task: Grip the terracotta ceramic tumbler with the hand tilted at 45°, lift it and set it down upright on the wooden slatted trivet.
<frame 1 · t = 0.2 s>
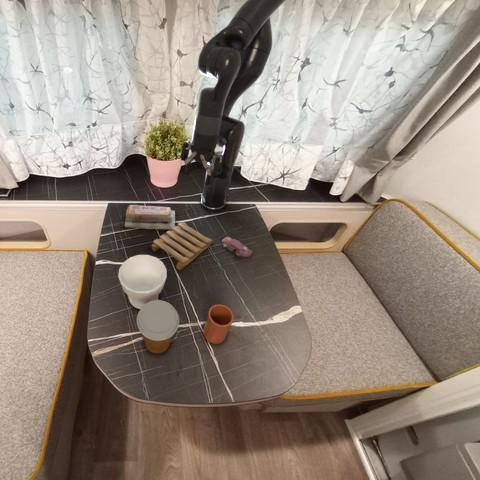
hand: (197, 179, 89), 17 cm above the table, tool pointing down, fingers open, 8 cm apart
wooden slatted trivet: (181, 246, 91), on the table
tumbler: (214, 332, 70), on the table
packaged product: (150, 220, 101), on the table
pink oblong lump: (235, 252, 90), on the table
disposable coffee cup: (157, 341, 68), on the table
cup: (143, 296, 77), on the table
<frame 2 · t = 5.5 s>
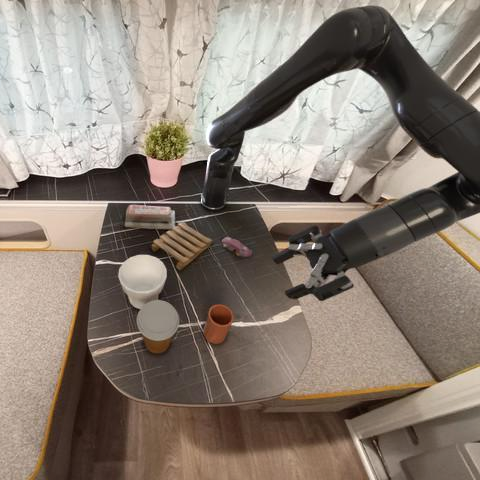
hand: (280, 277, 54), 23 cm above the table, tool tilted 45°, fingers open, 8 cm apart
nothing on the table moved.
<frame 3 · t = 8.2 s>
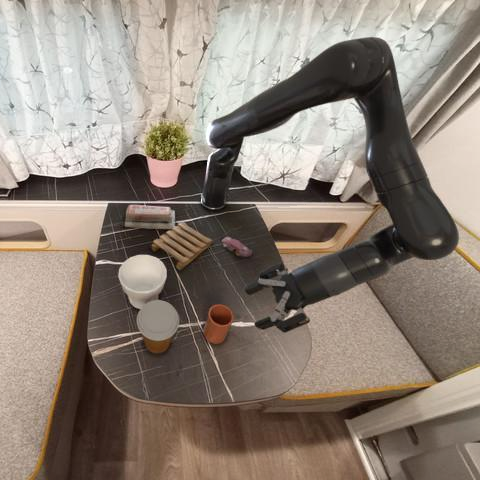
hand: (251, 308, 62), 12 cm above the table, tool tilted 45°, fingers open, 8 cm apart
nothing on the table moved.
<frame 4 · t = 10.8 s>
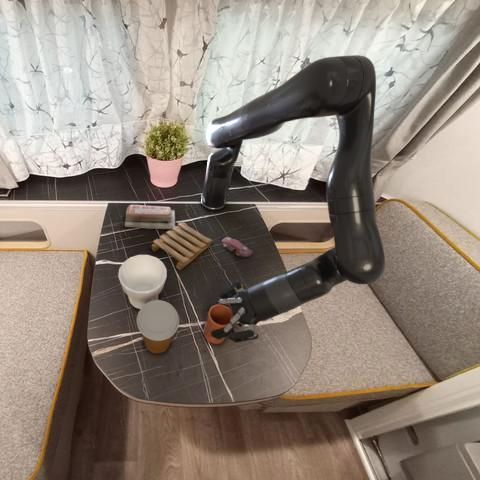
hand: (211, 323, 66), 5 cm above the table, tool tilted 45°, fingers closed on tumbler, 6 cm apart
tumbler: (214, 332, 70), on the table, touching gripper
everything else where it was.
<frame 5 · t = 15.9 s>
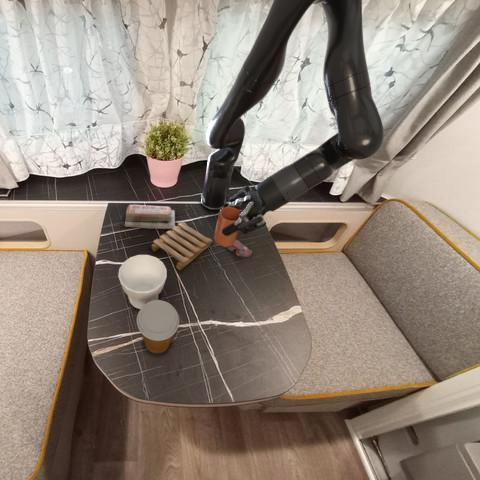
hand: (221, 224, 72), 19 cm above the table, tool tilted 45°, fingers closed on tumbler, 6 cm apart
tumbler: (224, 238, 75), point 13 cm above the table, touching gripper
everything else where it was.
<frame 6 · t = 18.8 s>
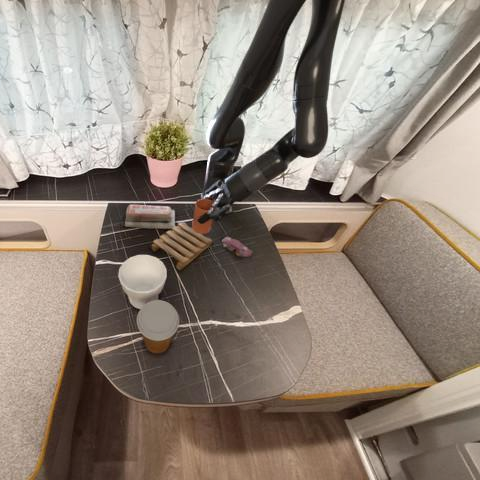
hand: (197, 214, 81), 14 cm above the table, tool tilted 45°, fingers closed on tumbler, 6 cm apart
tumbler: (201, 227, 85), point 9 cm above the table, touching gripper
everything else where it was.
when the fingers open (8 cm above the table, at t = 21.2 s): tumbler stays where it is, resting on wooden slatted trivet.
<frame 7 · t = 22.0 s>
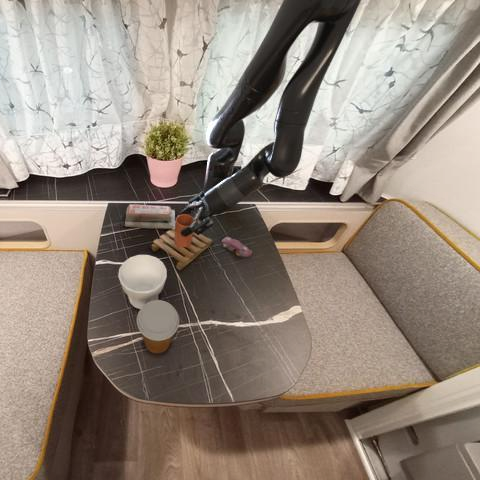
hand: (181, 225, 84), 10 cm above the table, tool tilted 45°, fingers open, 8 cm apart
tumbler: (182, 240, 89), point 3 cm above the table, touching wooden slatted trivet
everything else where it was.
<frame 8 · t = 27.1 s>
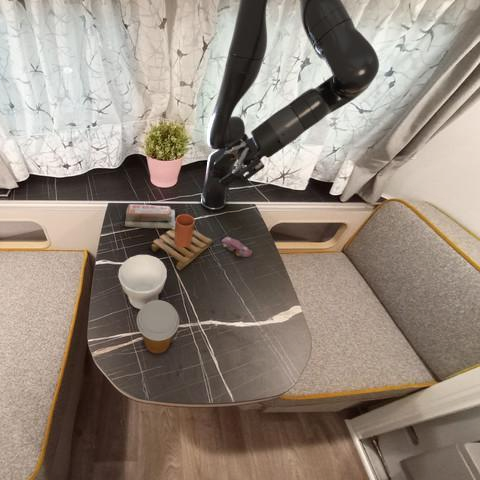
hand: (218, 175, 70), 29 cm above the table, tool tilted 45°, fingers open, 8 cm apart
nothing on the table moved.
at the end: tumbler inside the target area on the wooden slatted trivet (0.2 cm from its centre), point 3.0 cm above the wooden slatted trivet's base; tumbler tilted 0°; the gripper is holding nothing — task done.
